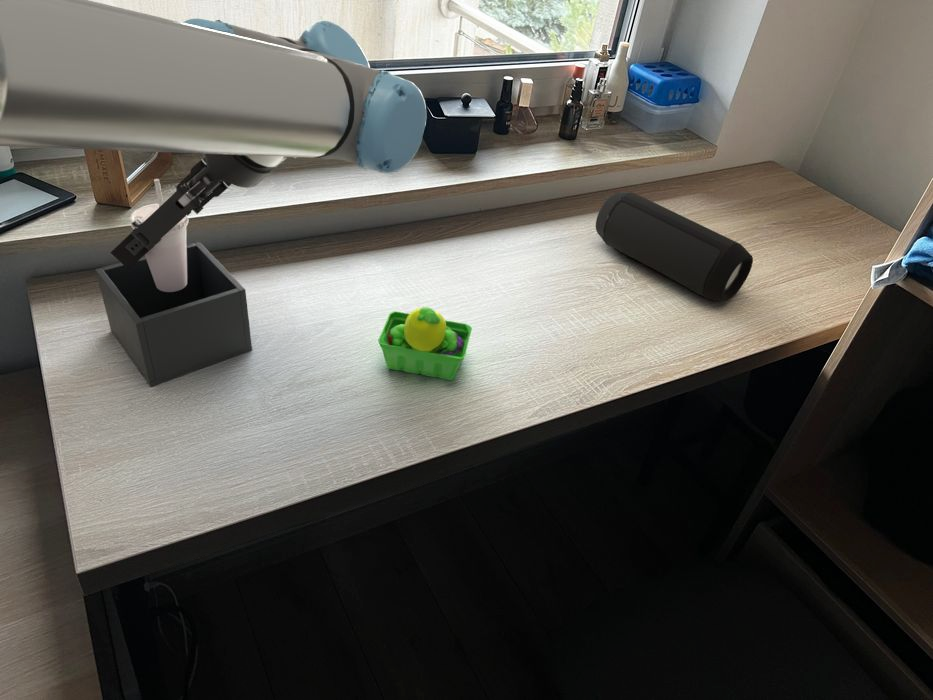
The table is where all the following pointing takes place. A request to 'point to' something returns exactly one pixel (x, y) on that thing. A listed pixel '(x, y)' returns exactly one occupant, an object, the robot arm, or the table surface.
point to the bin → (176, 316)
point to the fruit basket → (424, 343)
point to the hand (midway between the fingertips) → (137, 245)
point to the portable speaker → (674, 245)
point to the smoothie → (166, 250)
